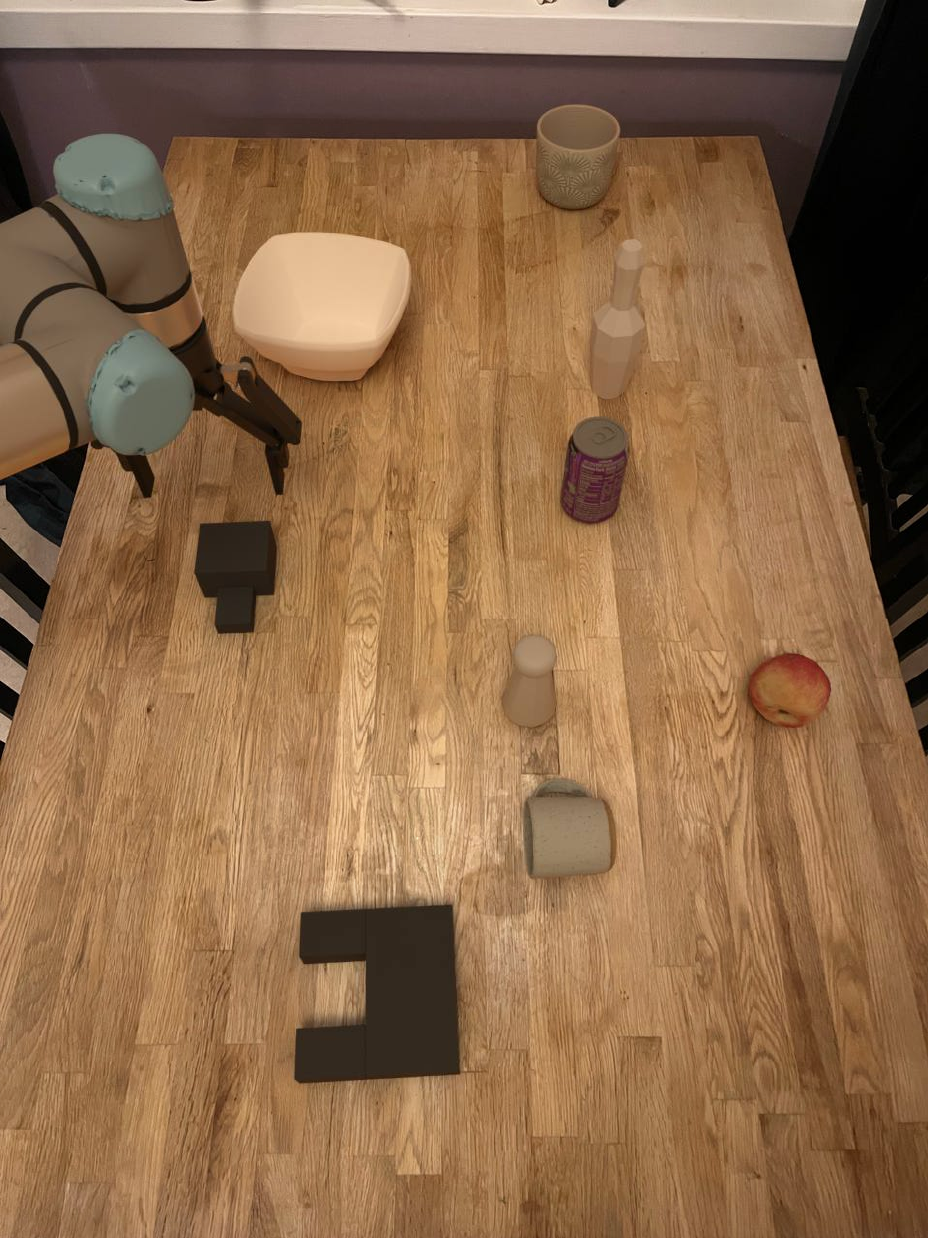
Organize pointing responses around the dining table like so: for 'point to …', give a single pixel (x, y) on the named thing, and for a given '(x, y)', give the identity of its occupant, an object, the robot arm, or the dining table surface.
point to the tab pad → (236, 570)
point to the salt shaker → (531, 682)
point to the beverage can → (594, 469)
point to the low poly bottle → (618, 326)
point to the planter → (575, 155)
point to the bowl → (322, 302)
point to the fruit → (790, 690)
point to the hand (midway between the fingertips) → (215, 486)
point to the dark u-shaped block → (385, 995)
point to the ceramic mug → (567, 832)
